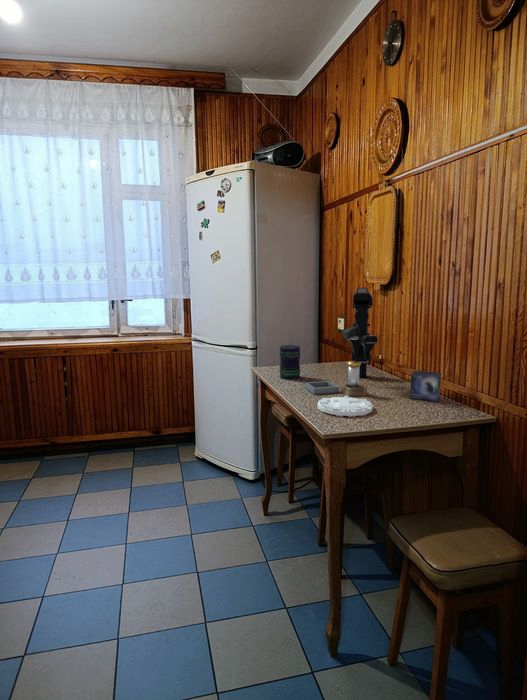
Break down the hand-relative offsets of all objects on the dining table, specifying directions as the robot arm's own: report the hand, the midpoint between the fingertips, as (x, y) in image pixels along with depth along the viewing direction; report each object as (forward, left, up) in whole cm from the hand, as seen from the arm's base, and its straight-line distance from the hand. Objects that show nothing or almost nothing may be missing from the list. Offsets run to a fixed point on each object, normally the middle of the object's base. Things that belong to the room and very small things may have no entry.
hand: (360, 356), depth 205 cm
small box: (+27, +14, -13) cm, 34 cm away
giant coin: (+31, -22, -14) cm, 40 cm away
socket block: (+11, -9, -13) cm, 19 cm away
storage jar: (-25, -25, -13) cm, 37 cm away
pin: (+11, -9, -13) cm, 19 cm away
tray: (+3, -20, -13) cm, 24 cm away
